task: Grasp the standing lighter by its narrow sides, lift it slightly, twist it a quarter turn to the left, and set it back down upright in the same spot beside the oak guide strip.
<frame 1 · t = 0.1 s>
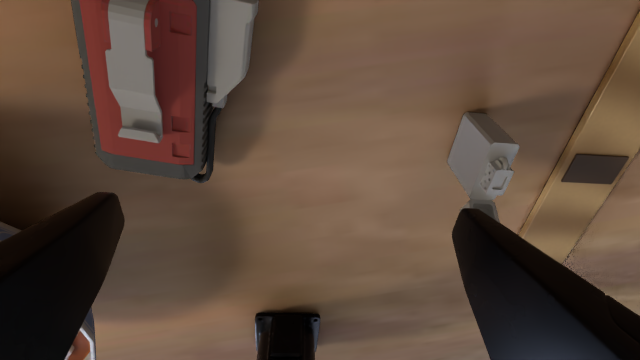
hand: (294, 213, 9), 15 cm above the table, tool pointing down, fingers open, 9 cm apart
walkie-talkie: (179, 18, 20), on the table
guide strip: (588, 164, 27), on the table
lighter: (459, 156, 26), on the table
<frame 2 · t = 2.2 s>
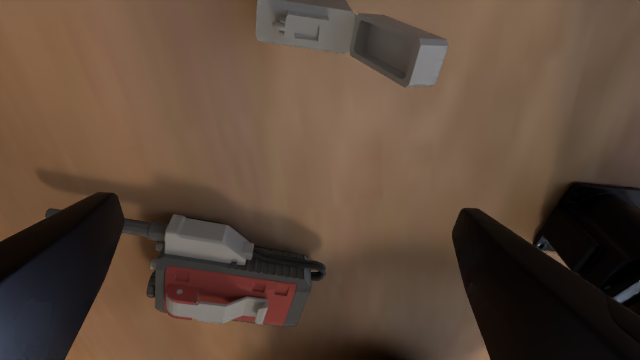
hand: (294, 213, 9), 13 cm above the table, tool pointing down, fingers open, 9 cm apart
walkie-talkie: (200, 253, 29), on the table
lighter: (332, 13, 19), on the table
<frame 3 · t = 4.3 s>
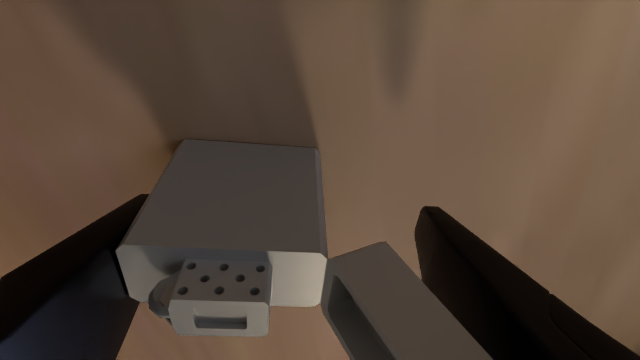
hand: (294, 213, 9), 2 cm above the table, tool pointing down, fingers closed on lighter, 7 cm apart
lighter: (299, 167, 11), on the table, touching gripper
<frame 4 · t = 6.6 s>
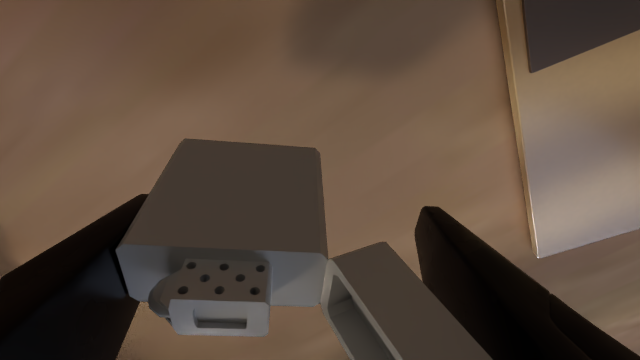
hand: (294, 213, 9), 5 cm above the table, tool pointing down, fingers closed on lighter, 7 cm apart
guide strip: (580, 5, 11), on the table
lighter: (299, 167, 11), point 3 cm above the table, touching gripper
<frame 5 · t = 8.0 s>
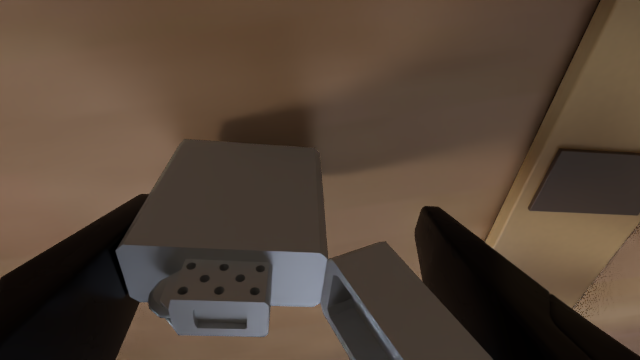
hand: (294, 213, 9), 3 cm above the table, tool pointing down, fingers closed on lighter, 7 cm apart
guide strip: (587, 173, 12), on the table
lighter: (299, 167, 11), on the table, touching gripper
when the fingers open (2 cm above the table, at t = 8.8 s): lighter stays where it is, on the table.
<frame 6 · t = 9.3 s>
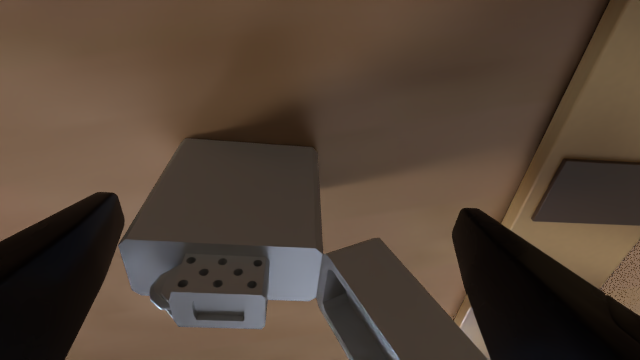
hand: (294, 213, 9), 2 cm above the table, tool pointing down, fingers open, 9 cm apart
guide strip: (592, 182, 12), on the table
lighter: (297, 166, 11), on the table
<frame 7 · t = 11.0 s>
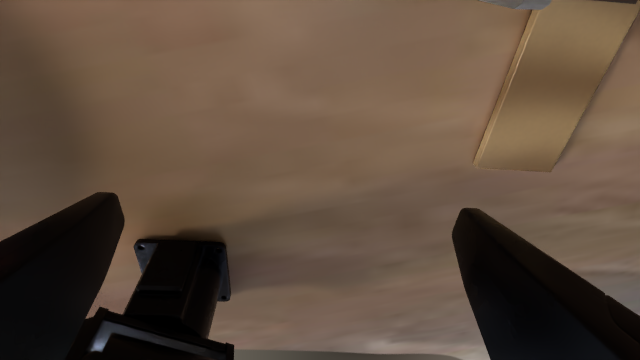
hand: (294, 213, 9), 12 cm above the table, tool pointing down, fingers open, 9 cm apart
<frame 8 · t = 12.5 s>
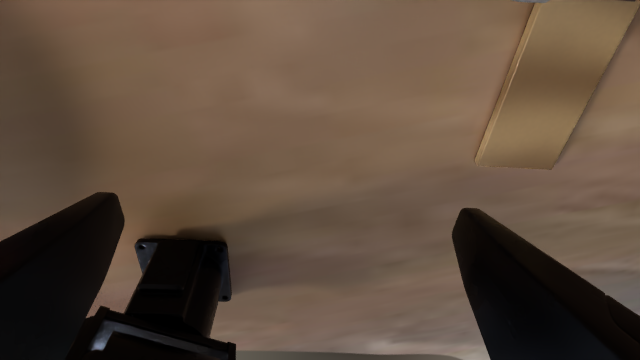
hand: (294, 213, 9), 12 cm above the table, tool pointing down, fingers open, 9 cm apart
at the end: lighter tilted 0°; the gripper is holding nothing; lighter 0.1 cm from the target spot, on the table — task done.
